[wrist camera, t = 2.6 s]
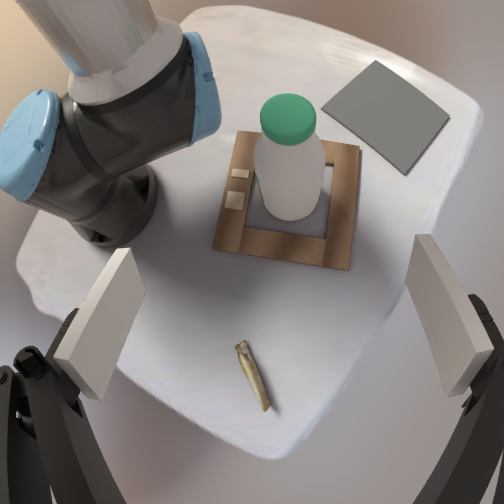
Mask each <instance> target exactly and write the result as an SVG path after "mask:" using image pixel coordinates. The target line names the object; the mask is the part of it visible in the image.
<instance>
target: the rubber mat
mask: <svg viewBox="0 0 504 504" xmlns="http://www.w3.org/2000/svg"><path fill="white" fill-rule="evenodd" d="M321 110H323V111H324V112H325V113H327V114H328V115H330V116H331V117H332V118H334V119H335V120H336V121H338V122H339V123H341V124H342V125H343V126H345V127H346V128H347V129H349V130H350V131H351V132H352V133H354V134H355V135H356V136H358V137H359V138H360V139H361V140H363V141H364V142H365V143H366V144H368V145H369V146H370V147H371V148H373V149H374V150H375V151H376V152H378V153H379V154H380V155H381V156H382V157H384V158H385V159H386V160H387V161H388V162H390V163H391V164H392V165H393V166H394V167H395V168H396V169H398V170H399V171H400V172H401V173H402V174H403V175H404V174H405V173H406V172H407V170H408V169H409V168H410V167H411V165H412V164H413V163H414V162H415V160H416V159H417V158H418V157H419V155H420V154H421V153H422V151H423V150H424V149H425V148H426V146H427V145H428V144H429V142H430V141H431V140H432V138H433V137H434V136H435V135H436V133H437V132H438V131H439V129H440V128H441V127H442V125H443V124H444V123H445V121H446V120H447V118H448V117H449V116H450V115H449V114H448V113H446V112H445V111H444V110H443V109H442V108H440V107H439V106H438V105H437V104H436V103H434V102H433V101H432V100H431V99H429V98H428V97H427V96H426V95H424V94H423V93H422V92H420V91H419V90H418V89H416V88H415V87H414V86H412V85H411V84H410V83H408V82H407V81H406V80H404V79H403V78H402V77H400V76H399V75H397V74H396V73H394V72H393V71H392V70H390V69H389V68H387V67H386V66H384V65H383V64H381V63H380V62H378V61H377V60H375V61H374V62H373V63H371V64H370V65H369V66H368V67H367V68H366V69H364V70H363V71H362V72H361V73H360V74H359V75H358V76H356V77H355V78H354V79H353V80H352V81H351V82H350V83H348V84H347V85H346V86H345V87H344V88H343V89H342V90H341V91H339V92H338V93H337V94H336V95H335V96H334V97H333V98H332V99H330V100H329V101H328V102H327V103H326V104H325V105H324V106H323V107H322V108H321Z"/></svg>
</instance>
